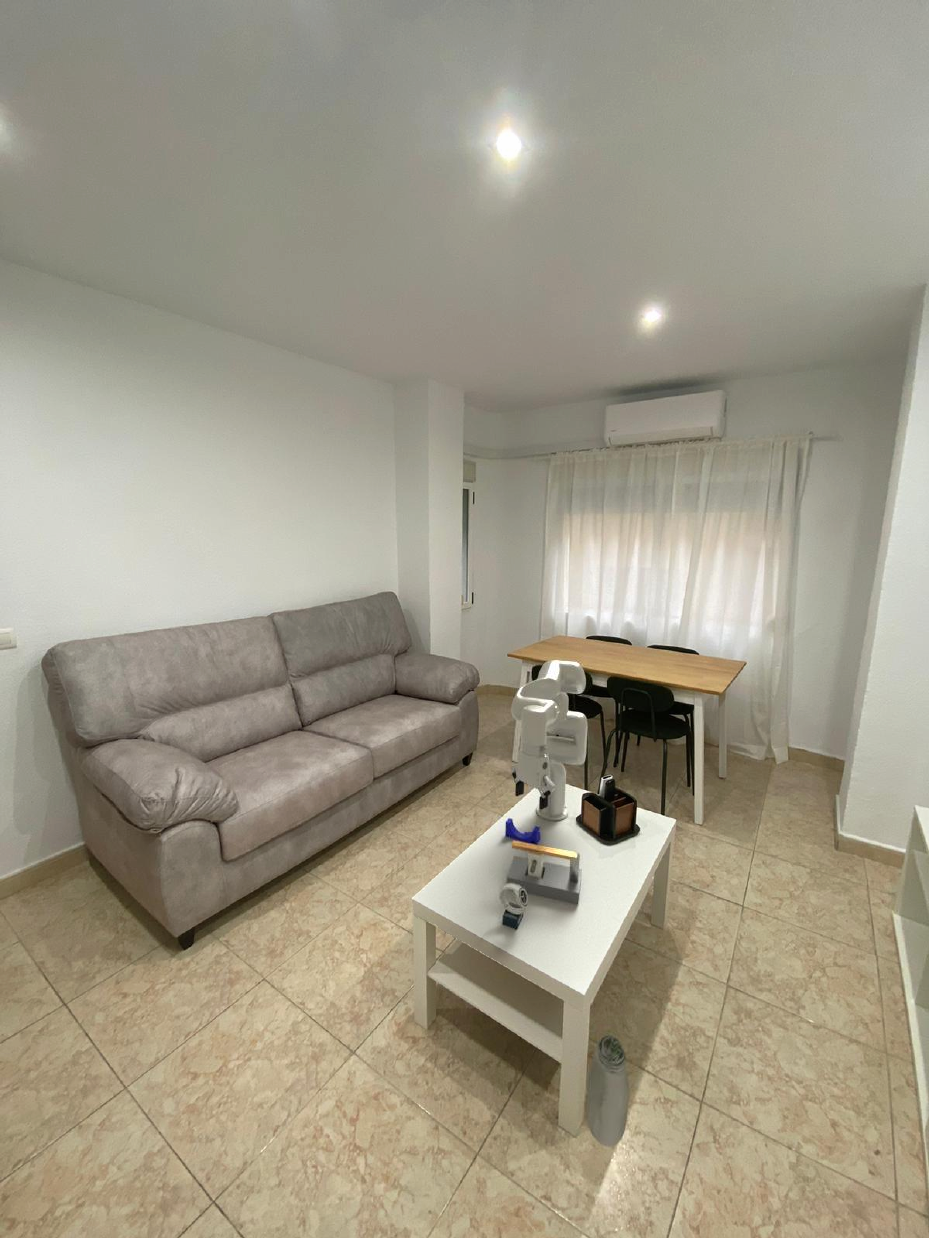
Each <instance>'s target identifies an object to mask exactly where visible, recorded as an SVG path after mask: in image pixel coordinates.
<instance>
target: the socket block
mask: <svg viewBox="0 0 929 1238" xmlns="http://www.w3.org/2000/svg"><path fill="white" fill-rule="evenodd" d="M528 859H529V857H524V856H523V857H522V856H519V855H518V856H517V855H514V856H513V858H512V861H511V864H510V867H509V870H508V873H507V876H506V884H508V883H514V884H517V885H520V886H521V887H523V888H524V889H525V890H526V892H527V895H528V894H529V895H533V896H536V897H537V896H538V897H541V898H546V899H547V898H548V899H551V900H556V901H560V902H565V903H570V904H573V905H574V904H575V905H579V902H580V894H581V884H582V871H583V870H582V868H581V869H580V868H579V879H578V881H577V882H572V881H570V879H569V873H570V866H567V865H561V864H557V863H552V862H546V861H543V871H542V879H540V878H535V877H531V876H528ZM509 890H511V889H509ZM511 891H512V890H511Z"/></svg>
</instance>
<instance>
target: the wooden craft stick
mask: <svg viewBox="0 0 929 1238" xmlns="http://www.w3.org/2000/svg"><path fill="white" fill-rule="evenodd" d="M511 849H514V850H519V851H522V852H523V851H524V852H528V853H529V852H533V853H538V854H543V856H547V857H548V856H549V857H554V858H559V859H563V860H569V867H570V873H569V879H570V881H572V882H577V881H578V879H579V869H580V861H581V859H580V857H581V856H580V853H579V852H576V851H570V850H564V849H560V848H554V847H548V846H543V845H540V844H537V845H534V844H529V843H525V842H522V841H518V840H513V841H512V844H511Z"/></svg>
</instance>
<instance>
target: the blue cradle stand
mask: <svg viewBox="0 0 929 1238" xmlns="http://www.w3.org/2000/svg"><path fill="white" fill-rule="evenodd" d="M540 829H541V826H537V825H535V826H534V827H533V829H532V831H524V833H523V832H521V831H520V830H518V829H517V828H516V826H515V824H514V820H513V818H510V817H509V818H507V820H506V821H505V830H504V831H505V832H504V834H505V835H504V836H505V837H506V838H508V839H513V840H514V841H519V842H524V843H529V844H534V845H539V842H540V841H541V839H542V838H541V837H542V836H541V835H542V832H541V831H540Z"/></svg>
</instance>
